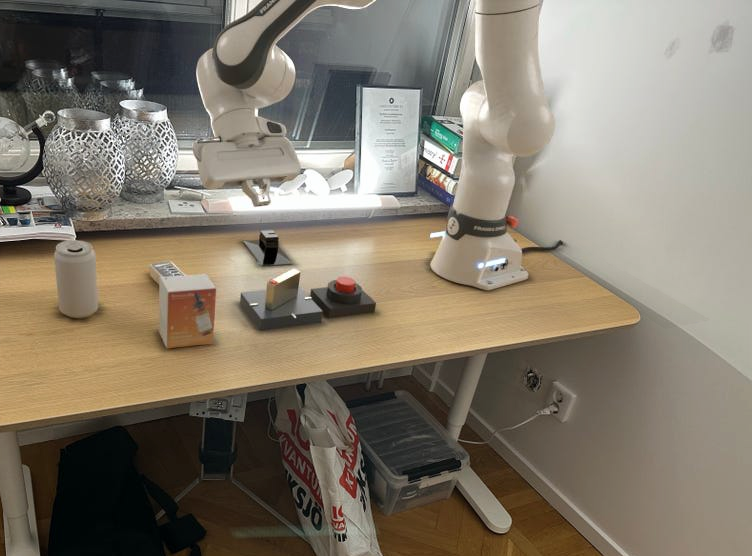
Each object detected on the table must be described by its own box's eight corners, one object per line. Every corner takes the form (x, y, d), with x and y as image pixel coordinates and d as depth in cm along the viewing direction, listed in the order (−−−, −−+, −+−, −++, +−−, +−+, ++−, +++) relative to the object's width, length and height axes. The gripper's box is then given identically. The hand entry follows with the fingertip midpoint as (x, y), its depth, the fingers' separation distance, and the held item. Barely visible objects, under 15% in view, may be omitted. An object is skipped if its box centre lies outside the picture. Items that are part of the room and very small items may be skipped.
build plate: (293, 265, 139) (295, 245, 136) (260, 267, 136) (262, 247, 134) (272, 241, 148) (274, 221, 146) (242, 242, 145) (243, 222, 143)
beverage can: (63, 322, 109) (57, 256, 103) (56, 304, 114) (50, 240, 107) (102, 317, 112) (98, 253, 106) (93, 300, 117) (90, 237, 110)
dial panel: (296, 294, 128) (297, 282, 126) (324, 326, 119) (326, 313, 117) (237, 301, 123) (238, 288, 121) (262, 334, 114) (263, 321, 112)
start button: (348, 283, 126) (349, 275, 125) (357, 292, 124) (359, 284, 123) (331, 285, 125) (333, 277, 124) (340, 294, 122) (342, 285, 121)
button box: (354, 293, 131) (357, 275, 129) (374, 313, 125) (378, 294, 123) (309, 298, 127) (312, 280, 125) (328, 319, 121) (331, 300, 119)
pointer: (290, 292, 123) (293, 267, 120) (297, 295, 122) (300, 270, 119) (264, 307, 117) (267, 280, 114) (271, 310, 116) (274, 284, 113)
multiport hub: (174, 300, 120) (174, 288, 119) (149, 274, 127) (149, 264, 126) (195, 295, 123) (196, 284, 121) (170, 271, 130) (170, 260, 128)
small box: (166, 349, 106) (166, 292, 100) (158, 332, 110) (158, 275, 105) (214, 344, 109) (217, 287, 104) (204, 327, 113) (207, 272, 108)
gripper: (195, 129, 114) (220, 203, 113) (291, 124, 125) (314, 192, 124) (182, 147, 119) (206, 218, 118) (276, 141, 130) (298, 206, 129)
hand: (262, 204), depth 121 cm, fingers closed
